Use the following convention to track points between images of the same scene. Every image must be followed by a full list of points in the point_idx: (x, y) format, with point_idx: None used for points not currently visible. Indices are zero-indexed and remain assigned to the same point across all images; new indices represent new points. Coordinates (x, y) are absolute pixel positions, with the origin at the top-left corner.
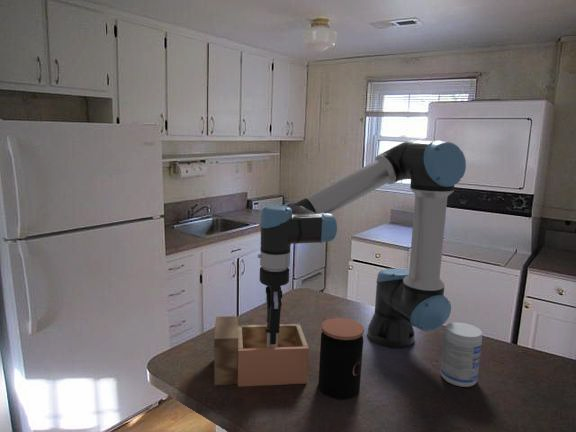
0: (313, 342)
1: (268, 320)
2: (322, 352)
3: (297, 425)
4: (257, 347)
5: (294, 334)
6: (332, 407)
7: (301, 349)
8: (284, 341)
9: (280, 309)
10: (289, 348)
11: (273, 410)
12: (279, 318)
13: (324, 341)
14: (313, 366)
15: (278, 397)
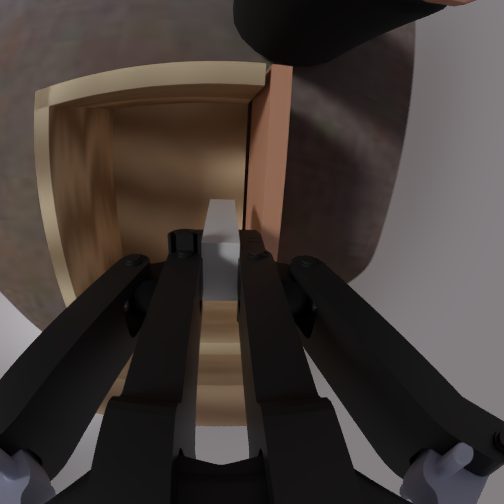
0: (37, 62)
1: (200, 333)
2: (361, 31)
3: (395, 161)
4: (104, 241)
5: (71, 112)
6: (355, 61)
7: (290, 101)
8: (86, 150)
9: (468, 402)
10: (281, 160)
11: (341, 201)
12: (400, 338)
13: (406, 15)
14: (153, 56)
15: (295, 179)
